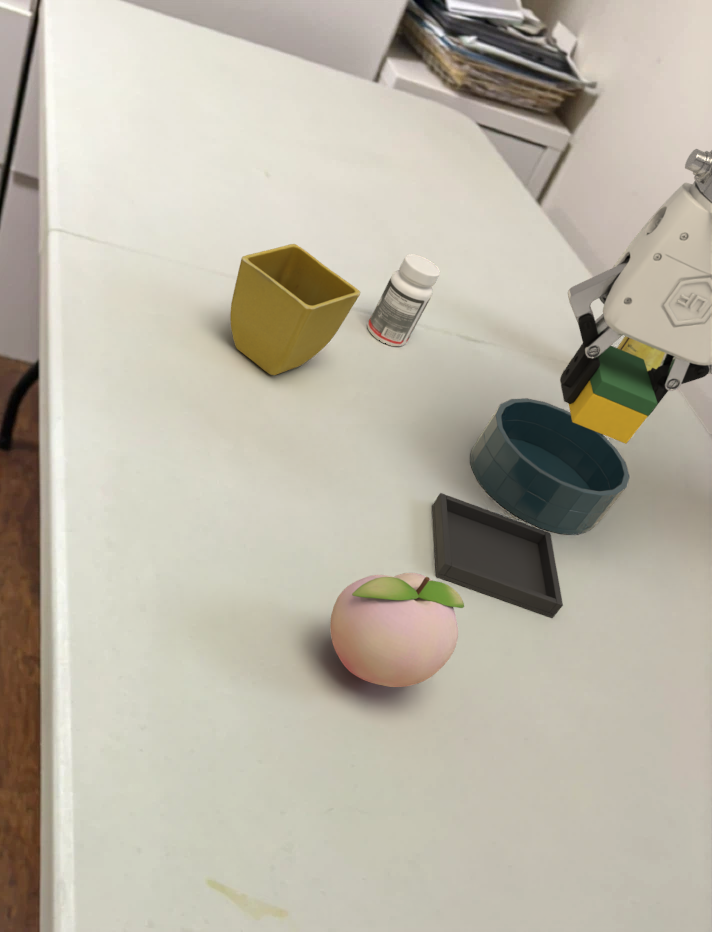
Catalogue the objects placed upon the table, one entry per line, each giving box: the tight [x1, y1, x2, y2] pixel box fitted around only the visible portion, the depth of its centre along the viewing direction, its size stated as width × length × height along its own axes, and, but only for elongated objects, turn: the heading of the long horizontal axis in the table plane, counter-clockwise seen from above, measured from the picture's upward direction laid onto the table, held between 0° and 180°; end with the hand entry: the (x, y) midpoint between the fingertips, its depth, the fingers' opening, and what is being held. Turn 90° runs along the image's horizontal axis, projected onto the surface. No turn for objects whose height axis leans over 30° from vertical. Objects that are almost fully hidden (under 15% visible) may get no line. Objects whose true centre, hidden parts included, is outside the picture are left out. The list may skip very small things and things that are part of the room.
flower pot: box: [229, 243, 361, 376], centre depth 104 cm, size 9×9×9 cm
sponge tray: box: [431, 492, 564, 619], centre depth 97 cm, size 11×10×2 cm
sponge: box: [567, 345, 659, 445], centre depth 89 cm, size 5×7×4 cm
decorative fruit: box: [329, 572, 465, 688], centre depth 78 cm, size 9×8×10 cm
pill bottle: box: [367, 253, 441, 347], centre depth 116 cm, size 5×5×8 cm
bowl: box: [469, 397, 630, 536], centre depth 107 cm, size 14×14×5 cm
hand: (598, 405), depth 90 cm, fingers closed on sponge, 5 cm apart
